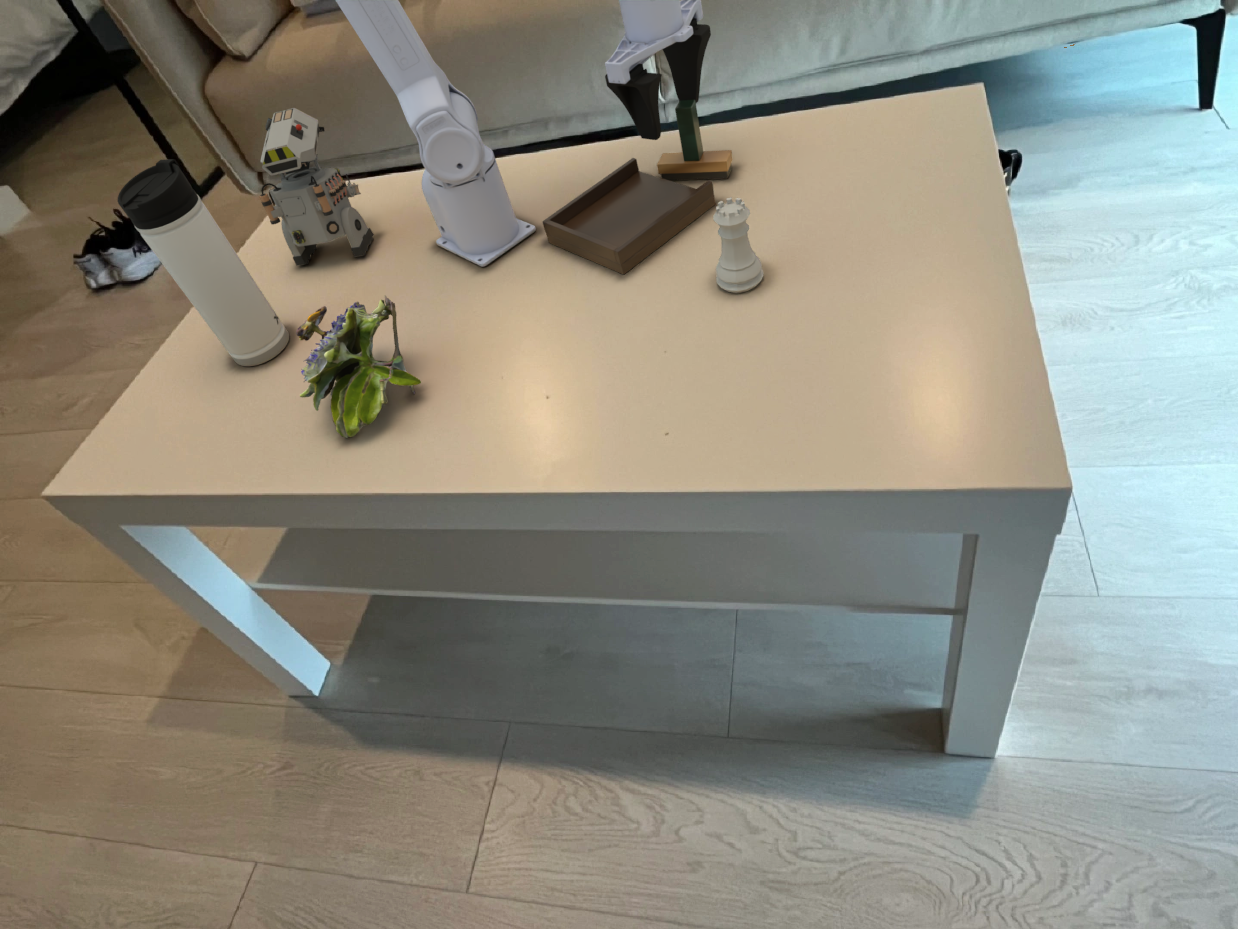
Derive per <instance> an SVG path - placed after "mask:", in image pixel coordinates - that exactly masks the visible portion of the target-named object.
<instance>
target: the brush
mask: <svg viewBox="0 0 1238 929" xmlns="http://www.w3.org/2000/svg"><path fill="white" fill-rule="evenodd" d="M674 112H675V116H676V117H675V118H676V122H677V129H678V134H679V140H680V145H681V152H680V151H679V152H663V153H662V154H661V156H660V157H659V159H658V161H657V163H656V167H657V172H658V175H661V178H663V179H666V180H670V181H673V182H674V181H697V180H721V179H722V180H724V179H725V180H726V179H728V178H729V176H730V174H731V172H732V162H733V160H734V159H733V151H732V149H723V150H705V151H704V148H703V142H702V134H701V128H700V121H699V115H698V109H697V103H696V101H695V100H684V101H679V100H678V102H677V104H676V106H675V108H674Z"/></svg>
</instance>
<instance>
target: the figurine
mask: <svg viewBox="0 0 1238 929" xmlns="http://www.w3.org/2000/svg"><path fill="white" fill-rule="evenodd" d="M265 130H266V134H265V140H264V142H263V148H262V152H261V156H260V161H259V162H260V163H261V164H262V166H261V168H262V170H264V172H266V173H267V174H268V175H270V176H271V177H272V176H276V175H279V176H280V178H281V179H280V180H279V181H278V183H277V184H276V185H275V184H274V183H271V182H270V183H269V182H267V183H265V184H263V185H262V187H261V194H260V195H259V196H258V197H259V200H260V202H261V205H262V207H263V208H264V210H265V212H266V215H267V216H268V218H269V222H270V224H271V225H276V224H279V223H280V222H281V223H280V224H281V230H282V234H283V238H284V240H285V242H286V246H287V247H288V249H289V251H290V252H291V254H292V260H293V261H294V263H295V265H296V266H304V265H309V261H311V260H312V255H314V254H315V251H317V250H318V245H319V244H327V243H330V242H333V241H335V240H337V239H340V238H343V237H346V239H347V241H348V243H349V245H350V251H351V253H352V255H353V258H356V257H363V256H366V255H367V252H369V246H371V245H372V242H373V241H374V236H375V234H374V232H373V231H372V229H371V228H370V227H369V226H368V225H367V223H366V221H365V220H364V218H363V216H362V214H360V212H359V211H358V210H357V209H356V208H354V207H353V206H352V204H351V202H350V199H349V198H354V197H355V196H359V195H362V193H361V192H360V190H359V184H356V183H355V182H351V181H350V178H349V176H348V174H347V173H346V174H345V177H346V179H347V181H348V182H347V181H346V180H344V178H343V177H342V175H341V171H340V169H339V168H337V167H335V168H333V167H325V168H322V166H320V164H319V161H320V159H319V157H318V153H317V150H318V143H319V137H320V136H319V135H320V133H323V132H325V126H320V125H319V120H318V119H317V118H315V117H313V116H311V115H309V114H308V113H306V112H303V111H301V110H300V109H297V108H295V107H292V108H288V109H285V110H281V111H276V112H274V113H273V114H272V118H270V117H268V118H267V120H266V123H265ZM311 163H313V164H314V166H310V165H311ZM267 186H272V187H270V188H269V193H270V196H271V198H272V200H273V202H272V200H271V199H270V196H269V194H268V193H264V189H265V187H267ZM273 203H274V205H275V206H274V205H273Z"/></svg>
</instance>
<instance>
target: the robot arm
mask: <svg viewBox="0 0 1238 929" xmlns="http://www.w3.org/2000/svg"><path fill="white" fill-rule="evenodd" d="M335 3H337V5H338V8H340V10H341V11H342V13H343V15H344V16H345V18H346V19H347V21H348V22H349V24H350V26H351V28H352V29H353V30H354V32H355V33H356V35H357V36H358V38H359V39H360V41H361V43H362V44H363V46H364V47H365V49H366V51H367V53H369V55H370V57H371V58H372V60H373V61H374V63H375V64H376V66H377V68H378V69H379V70H380V73H381V74H382V75H383V77H384V79H385V80H386V82H387V83H388V85H389V87H390V88H391V89H392V91H393V93H394V94H395V96H396V97H397V101H398V103H399V105H400V107H401V110H402V112H403V114H404V117H405V120H406V122H407V125H408V126H409V129H410V130H411V131H412V133H413V134H414V136H415V139H416V140H417V144H418V149H419V158H420V161H421V164H422V166H423V168H424V170H423V172H422V176H421V190H422V194H423V197H424V199H425V202H426V204H427V206H428V208H429V211H430V213H431V215H432V218H433V219H434V220H433V221H434V222H435V224H436V227H437V229H438V231H439V234H440V237H438V238H437V239H436V240H435V243H436V245H437V246H439V247H440V248H443V249H445V250H447V251H449V252H451V253H453V254H455V255H457V256H459V257H461V258H462V259H465V260H467V261H469V262H471V263H473V264H476V266H479V267H486V266H488V265H489V264H491V263H492V262H493V261H495V260H496V259H498V258H499V257H501V256H502V255H503V254H505V253H507V252H508V251H509V250H511V249H512V248H513V247H515V246H516V245H518V244H519V243H520V242H522V241H523V240H525V239H527V237H529V236H530V235H533V233H535V232H536V231H537V227H536V226H535V225H533V224H531V223H529V222H527V221H523V220H521V219H519V218H517V216H516V213H515V211H514V207H513V205H512V202H511V199H510V196H509V193H508V191H507V188H506V186H505V182H504V180H503V177H502V174H501V171H500V168H499V166H498V163H497V162H498V161H497V160H496V157H495V153H494V151H493V149H492V148H491V147H489V146H488V145H486V144H484V142H483V140H482V137H481V134H480V130H479V125H478V120H479V118H478V113H477V112H478V111H477V110H476V106H475V105H474V103H473V101H472V100H471V98H469V97H468V96H467V95H466V94H465V93H464V92H462V91H461V90H459V89H457V88H456V87H455V86H454V85H453V83H452V82H451V81H450V79H448V76H447V75H446V73H445V71H444V70H443V69H442V68H441V67H440V66H439V65H438V64H437V63H436V62H435V60H434V59H433V57H432V55H431V54H430V52H429V51H428V48H427V47H426V45H425V43H424V42H423V40H422V38H421V37H420V35H419V33H418V31H417V29H416V28H415V26H414V24H413V23H412V21H411V19H410V18H409V16H408V14H407V13H406V11H405V9H404V8H403V6H402V3H400V1H399V0H335ZM618 4H619V10H620V14H621V20H622V25H623V28H624V34H623V36H622V38H621V39H620V42H619V43H618V45H617V47H616V49H615V50H614V52H613V54H612V55H611V56H610V57H609V58H608V59H607V60H606V61H605V62H604V66H605V72H606V74H605V75H604V79H605V83H606V87H607V88H608V89H609V90H610V91H611V92H612V93H613V94H614V95H615V97H616V98H618V100H619V101H620V102H621V103H622V105H623V106H624V108H625V109H626V111H627V113H628V114H629V117H631V120H632V121H633V122H632V123H633V124H634V126H635V127H636V129H637V132H638V134H639V136H640V138H641V139H643V140H644V139H645V140H652V141H658V140H659V139H660V138H661V134H662V125H661V116H660V108H659V107H660V106H659V97H660V96H659V95H660V86H661V85H660V84H661V81H662V76H663V74H662V73H657V72H648V69H647V68H644V64H645V63H646V62H647V61H648V60H650V59H651V58H652V57H653V56H655V55H656V54H657V53H658V52H660V51H662V52H663V54H664V56H665V58H666V61H667V63H668V66H669V70H670V73H671V77H672V81H673V86H674V90H675V94H676V97H677V99H678V102H679V101H684V100H695V101H696V104H697V103H699V99H700V90H701V89H700V88H701V80H702V79H701V77H702V70H703V62H704V58H705V54H706V50H707V46H708V44H709V40H710V38H711V35H712V32H711V26H710V25H709V24H704V23H703V24H701V23H698V22H700V21H702V19H703V18H704V12H703V5H702V0H618Z"/></svg>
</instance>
